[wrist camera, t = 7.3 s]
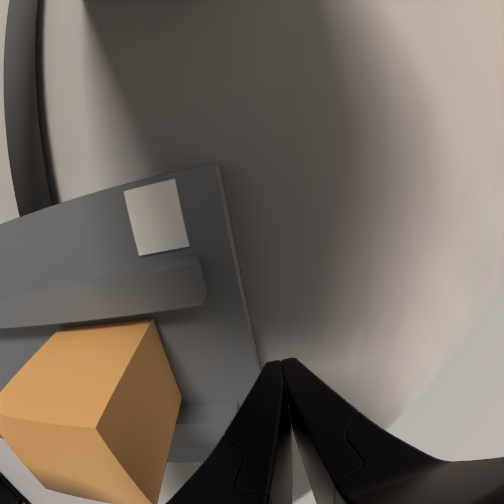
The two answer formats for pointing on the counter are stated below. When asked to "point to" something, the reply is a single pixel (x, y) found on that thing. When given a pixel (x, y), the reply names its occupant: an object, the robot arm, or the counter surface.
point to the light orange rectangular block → (95, 412)
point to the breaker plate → (139, 289)
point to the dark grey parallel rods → (23, 109)
